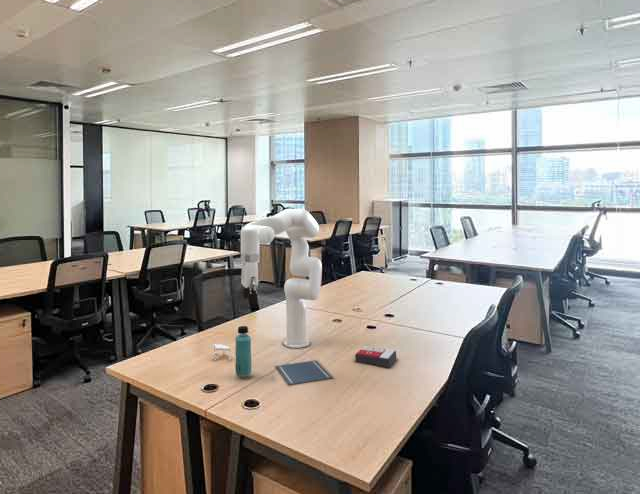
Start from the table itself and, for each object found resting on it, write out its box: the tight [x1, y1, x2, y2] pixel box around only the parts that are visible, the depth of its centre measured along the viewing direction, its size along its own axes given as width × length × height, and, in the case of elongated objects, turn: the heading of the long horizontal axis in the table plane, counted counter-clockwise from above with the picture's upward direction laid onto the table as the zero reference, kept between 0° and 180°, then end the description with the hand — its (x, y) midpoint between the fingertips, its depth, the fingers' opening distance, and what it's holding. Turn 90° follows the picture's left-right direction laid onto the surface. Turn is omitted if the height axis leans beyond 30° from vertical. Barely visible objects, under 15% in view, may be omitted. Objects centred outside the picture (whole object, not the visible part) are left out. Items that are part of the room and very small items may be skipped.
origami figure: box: [211, 343, 234, 362], centre depth 189 cm, size 12×8×5 cm
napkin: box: [275, 360, 333, 386], centre depth 174 cm, size 18×18×1 cm
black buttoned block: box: [354, 345, 397, 369], centre depth 186 cm, size 11×4×15 cm
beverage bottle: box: [234, 325, 253, 377], centre depth 170 cm, size 6×7×20 cm
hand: (250, 300), depth 171 cm, fingers open, 9 cm apart
